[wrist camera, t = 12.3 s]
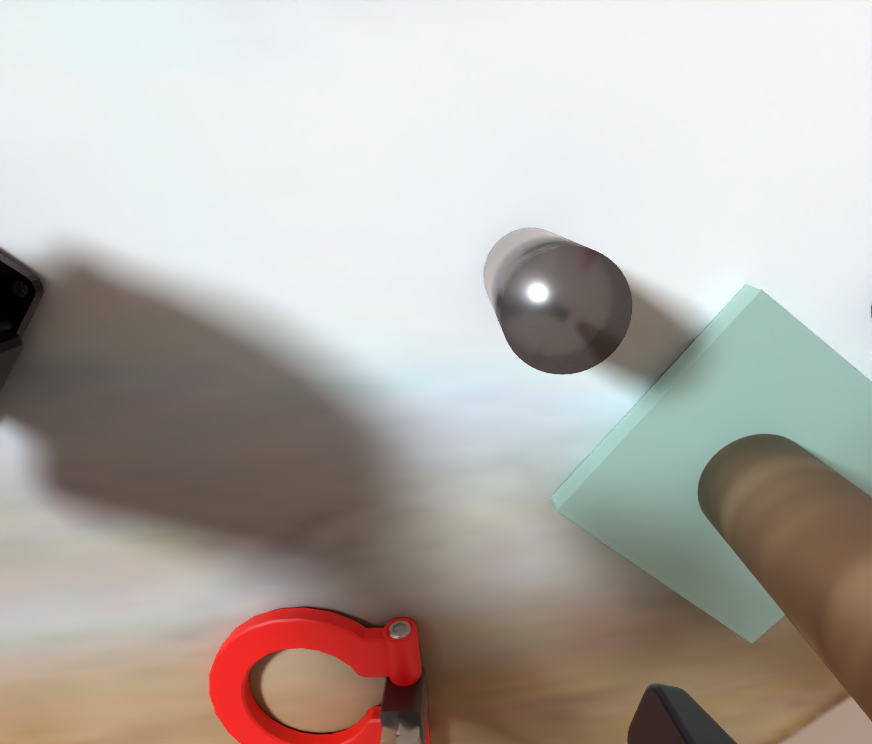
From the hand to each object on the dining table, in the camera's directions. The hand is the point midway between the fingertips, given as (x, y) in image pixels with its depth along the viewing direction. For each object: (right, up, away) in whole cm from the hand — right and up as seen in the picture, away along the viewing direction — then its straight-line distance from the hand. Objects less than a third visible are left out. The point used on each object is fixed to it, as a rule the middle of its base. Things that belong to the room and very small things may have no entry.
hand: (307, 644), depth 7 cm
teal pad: (+13, 0, +14) cm, 19 cm away
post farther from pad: (+5, +7, +11) cm, 14 cm away
